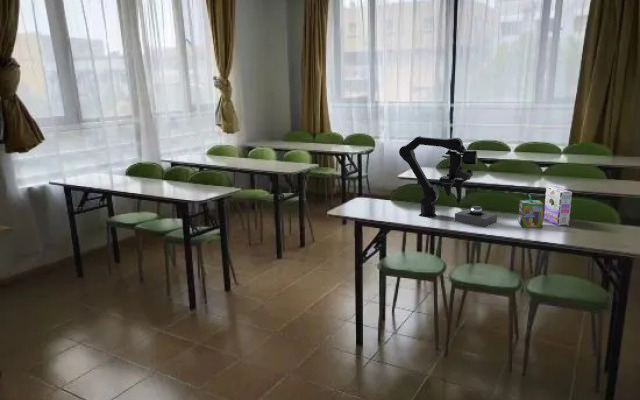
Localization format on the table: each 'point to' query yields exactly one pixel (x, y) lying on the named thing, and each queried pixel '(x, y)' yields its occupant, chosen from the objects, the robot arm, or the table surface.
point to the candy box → (557, 206)
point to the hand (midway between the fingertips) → (453, 194)
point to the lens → (476, 211)
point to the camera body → (476, 218)
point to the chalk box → (530, 213)
